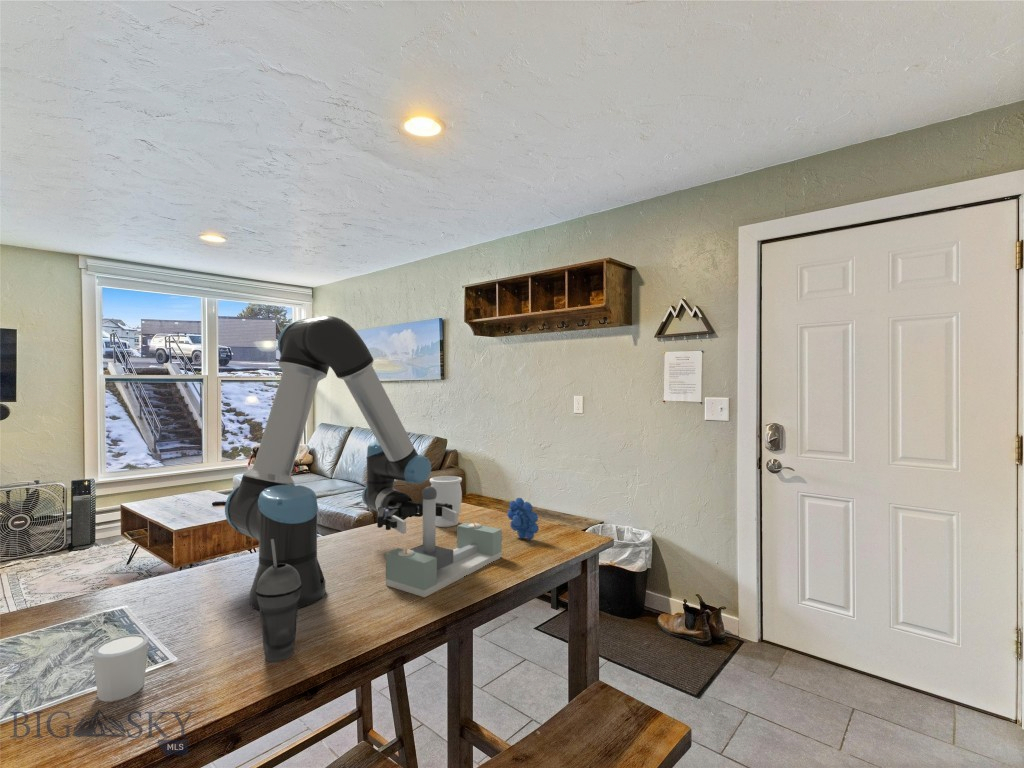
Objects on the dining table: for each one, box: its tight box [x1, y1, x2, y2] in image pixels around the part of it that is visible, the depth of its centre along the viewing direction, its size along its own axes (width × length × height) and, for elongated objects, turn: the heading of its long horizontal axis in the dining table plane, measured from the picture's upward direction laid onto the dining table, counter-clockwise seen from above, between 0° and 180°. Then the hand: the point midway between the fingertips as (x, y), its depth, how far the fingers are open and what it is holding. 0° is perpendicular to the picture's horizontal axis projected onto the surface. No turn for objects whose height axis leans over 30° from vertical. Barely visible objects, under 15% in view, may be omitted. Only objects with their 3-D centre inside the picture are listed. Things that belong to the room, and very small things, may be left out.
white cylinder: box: [92, 633, 150, 702], centre depth 78 cm, size 7×7×7 cm
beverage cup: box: [256, 539, 302, 663], centre depth 88 cm, size 7×7×20 cm
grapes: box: [506, 497, 539, 540], centre depth 152 cm, size 12×7×12 cm, turn 49°
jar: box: [429, 475, 463, 528], centre depth 168 cm, size 11×10×15 cm
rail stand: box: [385, 522, 503, 598], centre depth 127 cm, size 30×12×8 cm, turn 147°
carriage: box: [409, 485, 453, 570], centre depth 121 cm, size 7×9×18 cm
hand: (431, 522), depth 121 cm, fingers open, 13 cm apart
